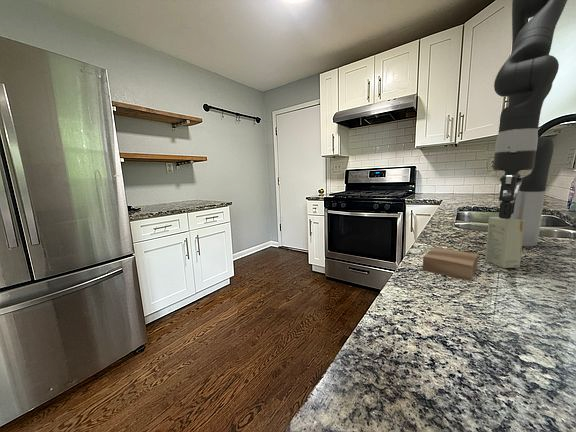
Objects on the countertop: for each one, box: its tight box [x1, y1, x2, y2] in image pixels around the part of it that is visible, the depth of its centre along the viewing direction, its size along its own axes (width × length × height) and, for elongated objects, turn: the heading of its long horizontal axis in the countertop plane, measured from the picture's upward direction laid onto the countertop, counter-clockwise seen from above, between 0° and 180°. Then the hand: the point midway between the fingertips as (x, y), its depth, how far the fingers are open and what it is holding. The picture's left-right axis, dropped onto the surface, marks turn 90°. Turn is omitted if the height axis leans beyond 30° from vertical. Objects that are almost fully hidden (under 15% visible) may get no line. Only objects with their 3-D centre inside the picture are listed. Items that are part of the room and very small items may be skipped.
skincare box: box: [484, 216, 525, 269], centre depth 64 cm, size 6×4×12 cm
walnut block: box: [422, 246, 479, 282], centre depth 63 cm, size 10×10×4 cm
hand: (506, 216), depth 63 cm, fingers open, 8 cm apart
